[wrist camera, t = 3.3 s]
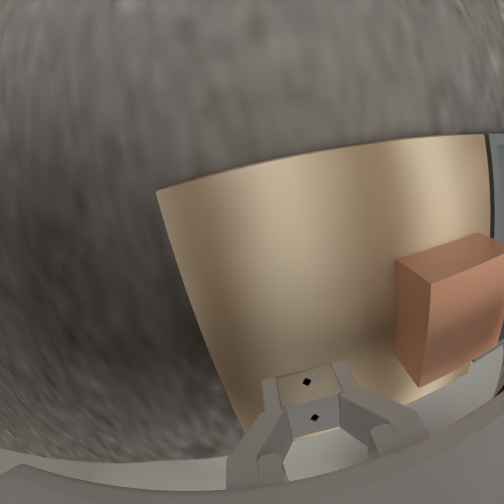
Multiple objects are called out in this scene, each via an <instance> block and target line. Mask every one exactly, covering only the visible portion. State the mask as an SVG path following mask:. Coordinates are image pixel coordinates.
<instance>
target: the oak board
mask: <svg viewBox="0 0 504 504" xmlns="http://www.w3.org/2000/svg"><path fill="white" fill-rule="evenodd" d="M155 192H156V195H157V199H158V203H159V206H160V210H161V213H162V216H163V220H164V223H165V227H166V230H167V233H168V236H169V240H170V243H171V246H172V249H173V252H174V255H175V258H176V262H177V265H178V268H179V271H180V274H181V277H182V280H183V282H184V285H185V288H186V291H187V294H188V297H189V300H190V302H191V305H192V308H193V311H194V314H195V316H196V319H197V322H198V324H199V327H200V330H201V332H202V335H203V338H204V340H205V343H206V345H207V348H208V350H209V353H210V355H211V358H212V360H213V363H214V365H215V368H216V370H217V373H218V375H219V377H220V380H221V382H222V384H223V387H224V389H225V392H226V394H227V396H228V398H229V401H230V403H231V405H232V407H233V410H234V412H235V414H236V416H237V419H238V421H239V423H240V425H241V427H242V429H243V432H244V434H246V432H247V431H248V430H249V428H250V427H251V425H252V424H253V423H254V421H255V420H256V418H257V417H258V415H259V414H260V413H262V412H264V403H263V394H262V385H261V380H262V379H265V378H270V377H276V376H279V375H284V374H289V373H294V372H299V371H303V370H307V369H311V368H314V367H318V366H322V365H325V364H330V363H332V362H335V361H338V360H342V359H344V360H345V361H346V363H347V365H348V367H349V369H350V371H351V373H352V375H353V377H354V379H355V381H356V383H357V385H358V387H359V388H361V387H364V388H366V389H369V390H371V391H373V392H375V393H377V394H379V395H382V396H384V397H386V398H388V399H390V400H393V401H395V402H397V403H399V404H402V405H405V404H407V403H409V402H412V401H414V400H416V399H418V398H421V397H423V396H425V395H427V394H429V393H431V392H433V391H435V390H437V389H439V388H441V387H443V386H445V385H447V384H449V383H450V382H452V381H454V380H456V379H458V378H459V377H461V376H463V375H465V374H466V373H467V372H468V369H469V365H470V362H469V363H467V364H465V365H464V366H462V367H460V368H458V369H456V370H454V371H453V372H451V373H449V374H447V375H445V376H443V377H441V378H439V379H437V380H435V381H433V382H431V383H429V384H427V385H425V386H423V387H421V388H418V387H417V385H416V384H415V382H414V381H413V380H412V378H411V377H410V376H409V374H408V373H407V371H406V370H405V369H404V367H403V366H402V365H401V363H400V362H399V361H398V359H397V358H396V357H395V343H396V316H397V282H396V259H398V258H401V257H404V256H408V255H411V254H414V253H417V252H420V251H424V250H427V249H430V248H433V247H436V246H439V245H442V244H446V243H449V242H452V241H455V240H458V239H461V238H464V237H467V236H470V235H472V234H475V233H481V234H483V235H485V236H488V237H490V186H489V171H488V161H487V152H486V144H485V137H484V134H445V135H431V136H419V137H409V138H399V139H390V140H382V141H374V142H367V143H359V144H353V145H346V146H340V147H334V148H328V149H322V150H316V151H311V152H305V153H300V154H295V155H290V156H285V157H280V158H275V159H270V160H266V161H261V162H257V163H252V164H248V165H244V166H240V167H235V168H231V169H227V170H223V171H219V172H215V173H212V174H208V175H204V176H200V177H197V178H193V179H189V180H186V181H182V182H179V183H176V184H172V185H170V186H167V187H165V188H163V189H160V190H158V191H155ZM340 428H341V427H336V428H332V429H328V430H324V431H320V432H316V433H312V434H308V435H305V436H301V437H297V438H293V439H294V440H293V441H296V440H301V439H305V438H309V437H312V436H316V435H320V434H324V433H327V432H330V431H334V430H337V429H340Z"/></svg>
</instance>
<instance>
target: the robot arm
mask: <svg viewBox="0 0 504 504" xmlns="http://www.w3.org/2000/svg"><path fill="white" fill-rule="evenodd" d="M261 385H262V394H263V403H264V412H262V413H260V414H259V415H258V417H257V418H256V420H255V421H254V423H253V424H252V425H251V427H250V428H249V430H248V431H247V432H246V434H245V435H244V437H243V438H242V439H241V441H240V442H239V443H238V445H237V446H236V447H235V449H234V450H233V451H232V453H231V454H230V455H229V457H228V458H227V470H226V490H213V491H164V490H163V491H162V490H147V489H135V488H127V487H119V486H112V485H105V484H99V483H94V482H89V481H84V480H79V479H74V478H70V477H66V476H62V475H58V474H54V473H51V472H47V471H44V470H41V469H38V468H35V467H32V466H28V465H25V464H21V465H18V466H16V467H14V468H12V469H10V470H8V471H7V472H5V473H4V474H2V475H0V504H504V391H503V392H501V393H500V394H498V395H497V396H496V397H494V398H493V399H491V400H490V401H488V402H487V403H485V404H484V405H482V406H481V407H479V408H477V409H476V410H474V411H473V412H471V413H469V414H468V415H466V416H464V417H463V418H461V419H459V420H458V421H456V422H454V423H452V424H450V425H448V426H447V427H445V428H443V429H441V430H439V431H437V432H435V433H433V434H431V435H430V434H429V432H428V431H427V429H426V427H425V425H424V424H423V422H422V421H421V419H420V417H419V416H418V414H417V413H416V411H415V410H413V409H411V408H408V407H406V406H404V405H402V404H399V403H397V402H395V401H393V400H390V399H388V398H386V397H384V396H382V395H379V394H377V393H375V392H373V391H371V390H369V389H366V388H364V387H361V388H359V387H358V385H357V383H356V381H355V379H354V377H353V375H352V373H351V371H350V369H349V367H348V365H347V363H346V361H345V360H344V359H342V360H338V361H335V362H332V363H330V364H325V365H322V366H318V367H314V368H311V369H307V370H303V371H299V372H294V373H289V374H284V375H279V376H276V377H270V378H265V379H262V380H261ZM336 427H341V428H342V429H344V430H345V431H346V432H347V433H349V434H350V435H352V436H353V437H355V438H356V439H357V440H359V441H360V442H362V443H363V444H364V445H366V446H368V454H367V460H366V462H363V463H360V464H357V465H354V466H351V467H347V468H344V469H340V470H337V471H334V472H330V473H326V474H322V475H318V476H314V477H309V478H305V479H300V480H295V481H290V482H289V480H288V477H287V474H286V472H285V469H284V466H283V461H284V459H285V456H286V454H287V452H288V450H289V448H290V446H291V444H292V442H293V440H294V439H293V438H297V437H301V436H305V435H308V434H312V433H316V432H320V431H324V430H328V429H332V428H336Z"/></svg>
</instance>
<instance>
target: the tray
mask: <svg viewBox="0 0 504 504" xmlns="http://www.w3.org/2000/svg"><path fill="white" fill-rule="evenodd" d="M463 134H484V137H485V144H486V152H487V161H488V171H489V186H490V238H493V239H495V240H497V241H500V242H502V243H504V133H463ZM502 344H504V320H503V324H502V328H501V332H500V336H499V340H498V343H497V345H496V346H495V347H493V348H492V349H490V350H489V351H487V352H485V353H484V354H482V355H481V356H479V357H477V358H476V359H474V360H472V361H473V362H476V361H477V360H479V359H480V358H482V357H484V356H485V355H487V354H489V353H490V352H492V351H493V350H495V349H496V348H498V347H499V346H501V345H502Z"/></svg>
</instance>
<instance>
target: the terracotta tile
mask: <svg viewBox="0 0 504 504" xmlns="http://www.w3.org/2000/svg"><path fill="white" fill-rule="evenodd" d="M396 282H397V316H396V343H395V357H396V358H397V359H398V361H399V362H400V363H401V365H402V366H403V367H404V369H405V370H406V371H407V373H408V374H409V376H410V377H411V378H412V380H413V381H414V382H415V384H416V385H417V387H418V388H421V387H423V386H425V385H427V384H429V383H431V382H433V381H435V380H437V379H439V378H441V377H443V376H445V375H447V374H449V373H451V372H453V371H454V370H456V369H458V368H460V367H462V366H464V365H465V364H467V363H469V362H471V361H472V360H474V359H476V358H477V357H479V356H481V355H482V354H484V353H485V352H487V351H489V350H490V349H492V348H493V347H495V346H496V345H497V343H498V340H499V336H500V332H501V328H502V324H503V320H504V243H502V242H500V241H497V240H495V239H493V238H490V237H488V236H485V235H483V234H481V233H475V234H472V235H470V236H467V237H464V238H461V239H458V240H455V241H452V242H449V243H446V244H442V245H439V246H436V247H433V248H430V249H427V250H424V251H420V252H417V253H414V254H411V255H408V256H404V257H401V258H398V259H396Z"/></svg>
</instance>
